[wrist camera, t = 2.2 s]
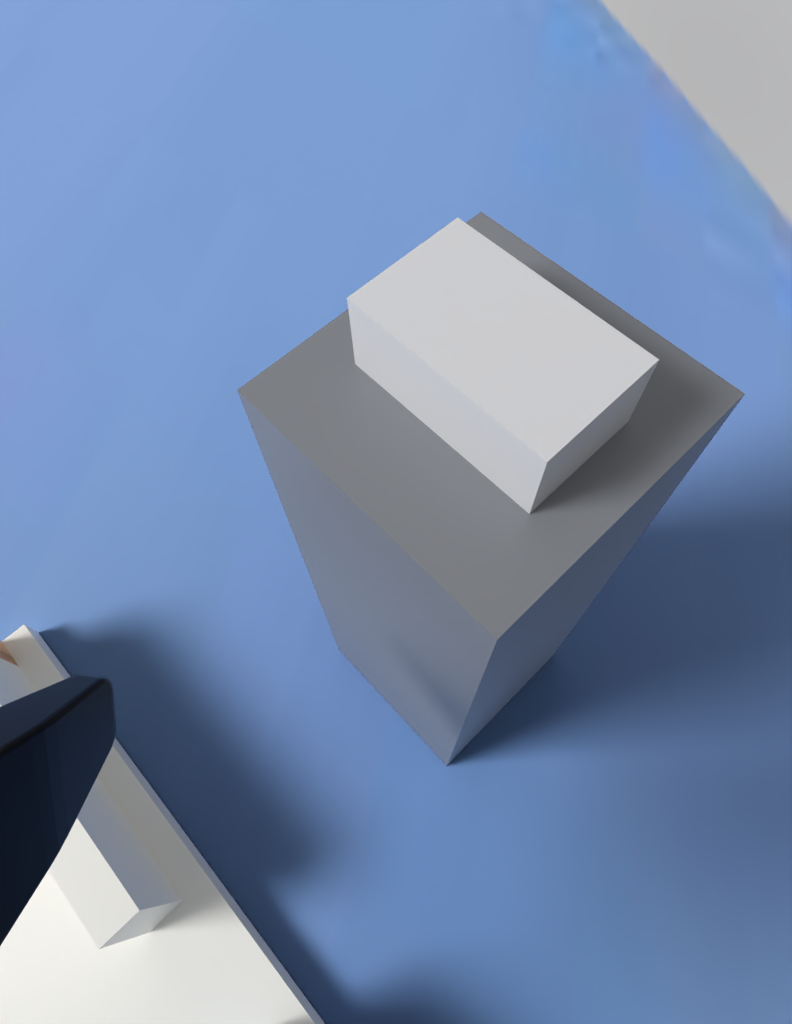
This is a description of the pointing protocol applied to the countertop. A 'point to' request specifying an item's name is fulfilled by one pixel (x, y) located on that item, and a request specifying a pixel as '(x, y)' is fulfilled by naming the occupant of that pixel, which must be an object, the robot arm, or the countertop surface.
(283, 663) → the countertop surface
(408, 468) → the grey pedestal with block
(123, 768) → the white tray with rails
